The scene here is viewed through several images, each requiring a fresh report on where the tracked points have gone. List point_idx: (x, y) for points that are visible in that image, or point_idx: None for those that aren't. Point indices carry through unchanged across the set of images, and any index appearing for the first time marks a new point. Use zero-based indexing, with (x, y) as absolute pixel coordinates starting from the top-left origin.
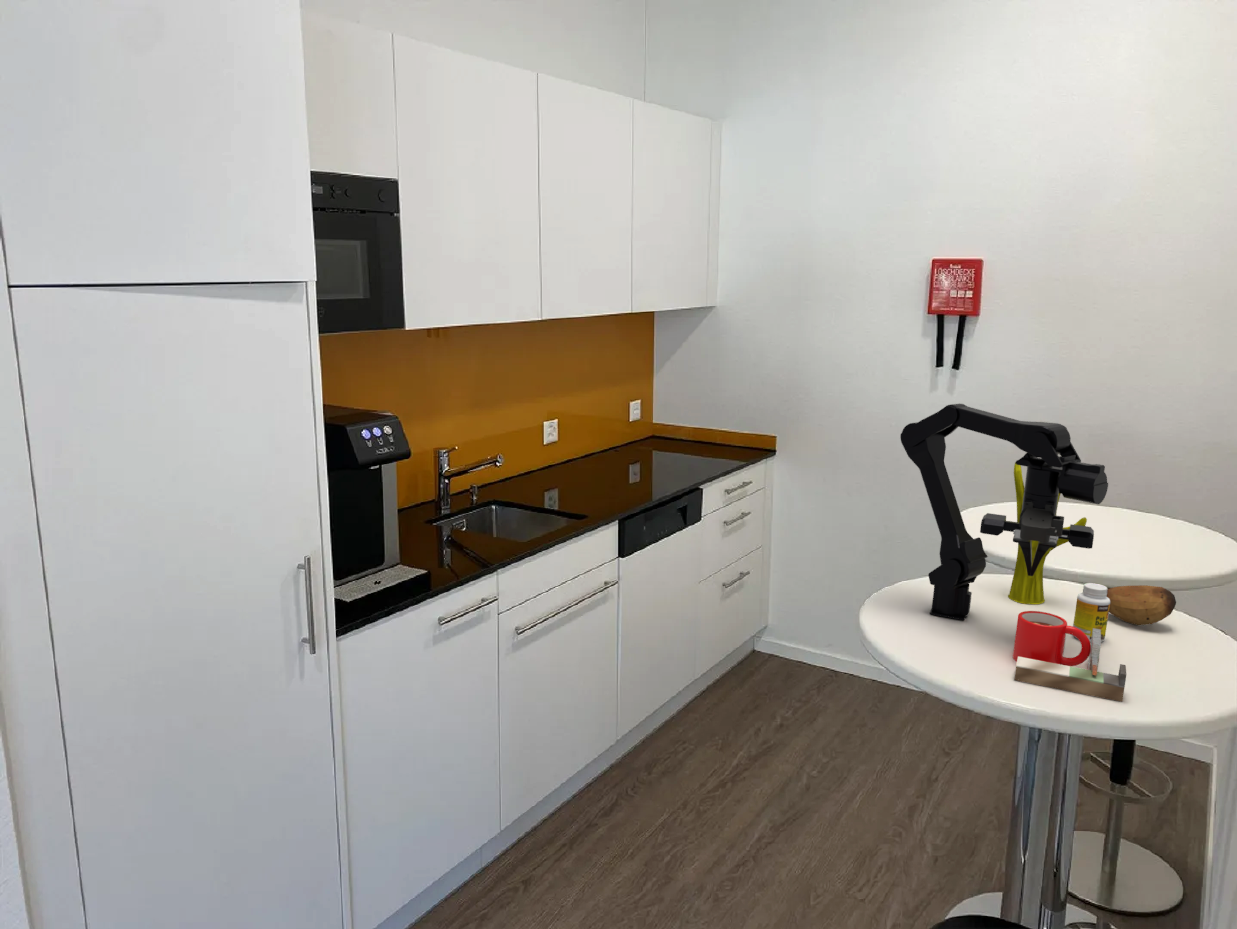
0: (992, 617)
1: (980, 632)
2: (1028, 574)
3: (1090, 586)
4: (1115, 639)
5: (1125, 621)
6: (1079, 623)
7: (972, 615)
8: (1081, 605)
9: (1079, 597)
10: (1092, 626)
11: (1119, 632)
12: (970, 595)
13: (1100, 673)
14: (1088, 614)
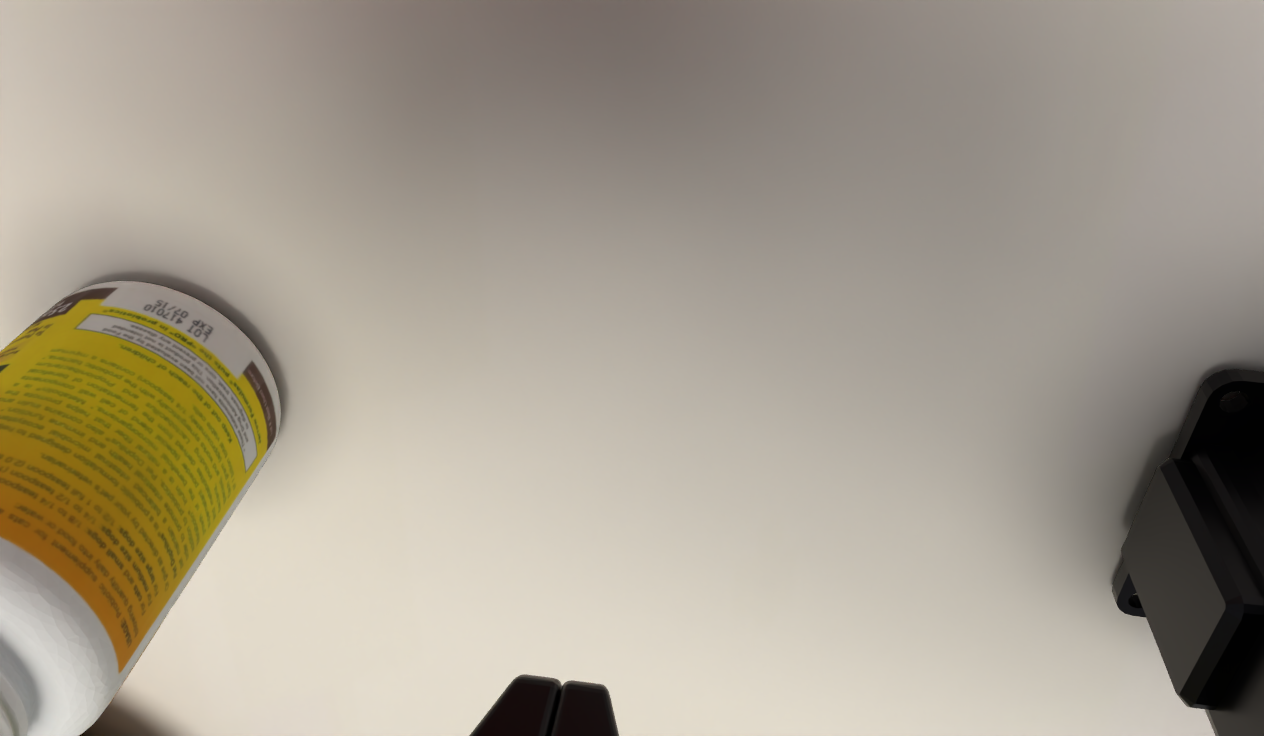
0: (905, 540)
1: (1093, 128)
2: (598, 696)
3: None
4: None
5: None
6: (160, 395)
7: (1078, 528)
8: (60, 522)
9: (60, 618)
10: (37, 353)
11: None
12: (1218, 625)
13: None
14: (15, 429)
